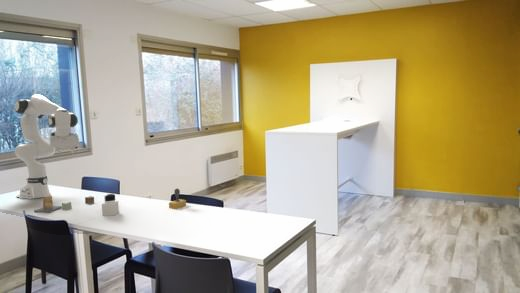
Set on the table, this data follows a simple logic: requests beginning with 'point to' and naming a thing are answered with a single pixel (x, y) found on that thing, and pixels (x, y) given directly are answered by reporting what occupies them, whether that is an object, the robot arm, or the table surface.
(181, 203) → the rubber stamp
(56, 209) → the grey mat
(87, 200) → the walnut cube
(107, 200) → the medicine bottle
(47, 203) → the oak block
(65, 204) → the sage cube
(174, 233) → the table surface
